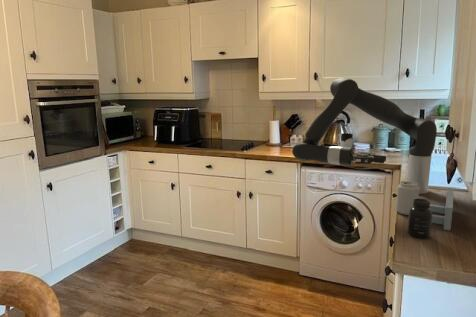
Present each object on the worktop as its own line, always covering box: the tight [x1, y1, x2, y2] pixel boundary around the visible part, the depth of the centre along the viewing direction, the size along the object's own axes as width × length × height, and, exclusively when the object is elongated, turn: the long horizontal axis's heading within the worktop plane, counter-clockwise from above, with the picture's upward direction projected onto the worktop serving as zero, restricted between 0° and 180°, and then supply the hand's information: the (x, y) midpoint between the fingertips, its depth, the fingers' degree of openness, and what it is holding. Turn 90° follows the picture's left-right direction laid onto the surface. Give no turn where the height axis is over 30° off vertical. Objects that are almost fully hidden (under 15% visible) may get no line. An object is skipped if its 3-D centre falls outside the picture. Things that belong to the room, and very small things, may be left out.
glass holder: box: [336, 132, 354, 148], centre depth 256 cm, size 9×14×15 cm, turn 24°
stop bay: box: [429, 189, 454, 231], centre depth 137 cm, size 24×10×8 cm, turn 150°
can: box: [395, 180, 420, 216], centre depth 142 cm, size 8×8×12 cm
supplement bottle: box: [407, 198, 433, 240], centre depth 121 cm, size 7×7×12 cm
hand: (384, 159), depth 144 cm, fingers open, 3 cm apart
